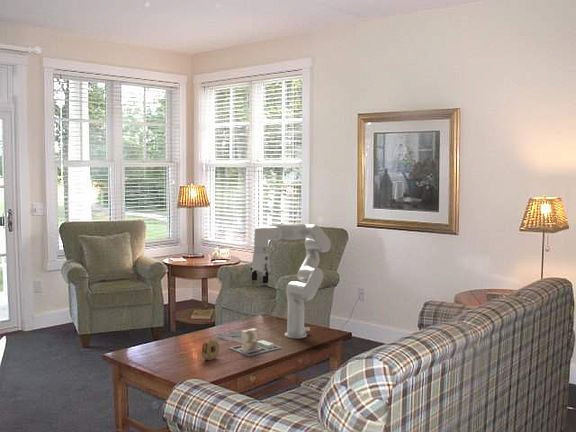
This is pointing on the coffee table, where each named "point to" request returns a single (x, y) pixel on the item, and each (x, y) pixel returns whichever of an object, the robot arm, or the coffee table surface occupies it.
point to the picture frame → (233, 336)
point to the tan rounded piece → (206, 348)
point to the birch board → (249, 339)
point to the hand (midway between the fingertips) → (259, 281)
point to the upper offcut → (265, 344)
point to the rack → (254, 350)
